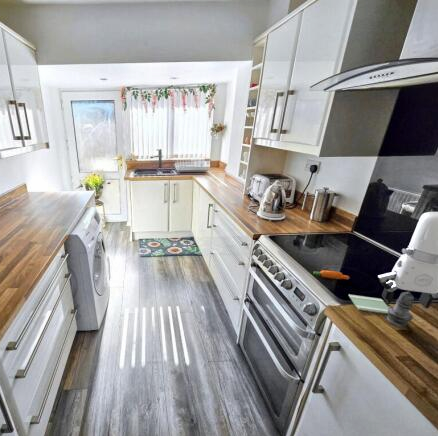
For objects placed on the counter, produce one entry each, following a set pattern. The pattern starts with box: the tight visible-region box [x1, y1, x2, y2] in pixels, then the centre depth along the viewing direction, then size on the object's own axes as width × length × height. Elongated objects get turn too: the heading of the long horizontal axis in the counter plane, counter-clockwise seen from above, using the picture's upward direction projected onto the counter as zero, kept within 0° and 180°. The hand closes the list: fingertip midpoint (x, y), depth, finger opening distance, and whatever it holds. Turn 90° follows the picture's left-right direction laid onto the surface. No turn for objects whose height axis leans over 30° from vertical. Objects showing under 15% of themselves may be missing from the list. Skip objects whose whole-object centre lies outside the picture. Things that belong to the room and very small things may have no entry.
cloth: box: [348, 293, 389, 315], centre depth 85 cm, size 8×10×1 cm
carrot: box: [312, 269, 350, 280], centre depth 100 cm, size 13×3×3 cm, turn 73°
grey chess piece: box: [384, 290, 415, 329], centre depth 76 cm, size 6×6×12 cm
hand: (404, 302), depth 75 cm, fingers open, 8 cm apart
